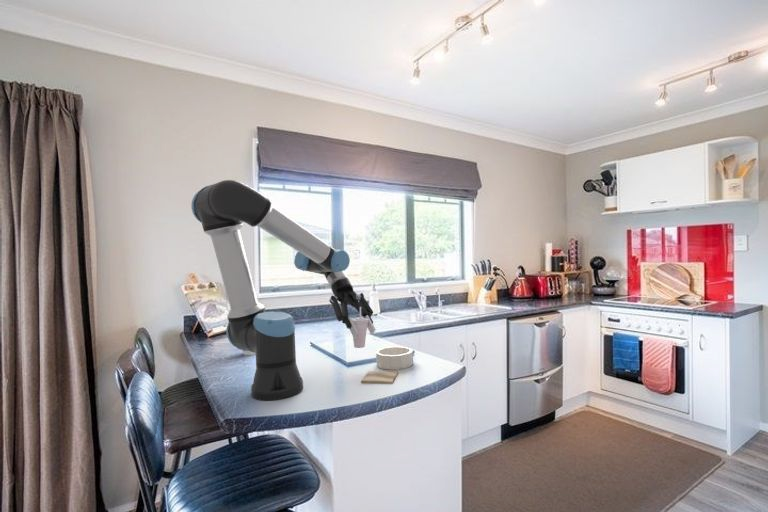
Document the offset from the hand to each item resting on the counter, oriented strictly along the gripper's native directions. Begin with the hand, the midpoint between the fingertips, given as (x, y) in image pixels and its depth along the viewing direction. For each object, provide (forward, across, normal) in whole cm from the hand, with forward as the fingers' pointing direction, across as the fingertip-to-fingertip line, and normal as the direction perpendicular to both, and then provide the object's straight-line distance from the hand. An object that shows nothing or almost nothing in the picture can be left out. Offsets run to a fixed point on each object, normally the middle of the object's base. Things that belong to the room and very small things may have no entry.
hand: (364, 333), depth 131 cm
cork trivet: (+16, 0, -3) cm, 16 cm away
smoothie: (+1, 0, -6) cm, 6 cm away
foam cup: (-31, +22, -50) cm, 63 cm away
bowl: (+9, -12, -9) cm, 17 cm away
